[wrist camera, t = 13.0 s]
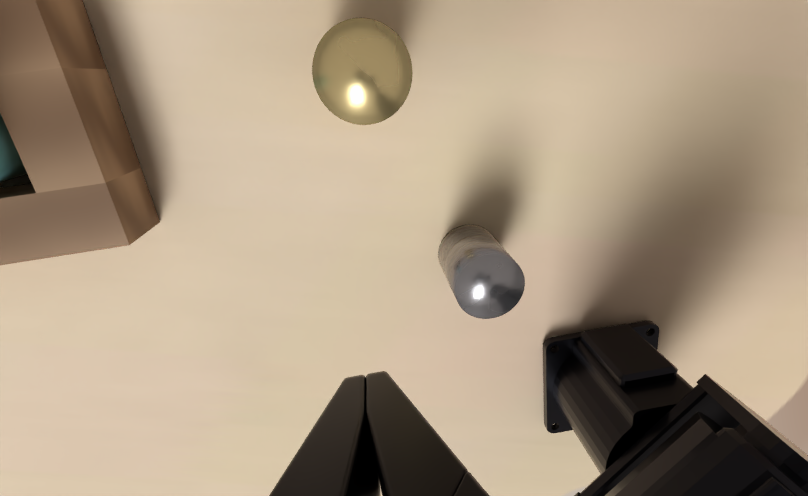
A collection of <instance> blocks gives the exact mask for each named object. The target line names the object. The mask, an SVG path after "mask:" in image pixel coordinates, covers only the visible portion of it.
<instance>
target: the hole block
mask: <svg viewBox="0 0 808 496" xmlns="http://www.w3.org/2000/svg"><path fill="white" fill-rule="evenodd" d="M0 113H1V116H2V118H3V120H4V122H5V125H6V127H7V129H8V131H9V134H10V136H11V138H12V140H13V142H14V145H15V147H16V149H17V151H18V154H19V156H20V158H21V160H22V163H23V165H24V167H25V169H26V172H27V174H28V176H29V178H30V180H31V183H32V184H26V185H20V186H13V187H6V188H0V265H5V264H11V263H17V262H24V261H30V260H37V259H43V258H49V257H56V256H62V255H69V254H75V253H81V252H88V251H94V250H101V249H107V248H113V247H120V246H126V245H130V244H131V243H133V242H134V241H135V240H137V239H138V238H139V237H141V236H142V235H143V234H145V233H146V232H147V231H149V230H150V229H151V228H153V227H154V226H155V225H157V224H158V223H159V222H160V221H159V218H158V215H157V212H156V209H155V206H154V204H153V201H152V198H151V195H150V192H149V189H148V186H147V184H146V181H145V178H144V175H143V172H142V169H141V166H140V164H139V161H138V158H137V155H136V152H135V149H134V146H133V144H132V141H131V138H130V135H129V132H128V129H127V127H126V124H125V121H124V118H123V115H122V112H121V109H120V107H119V104H118V101H117V98H116V95H115V92H114V89H113V87H112V84H111V81H110V78H109V75H108V72H107V69H106V67H105V64H104V61H103V58H102V55H101V52H100V49H99V47H98V44H97V41H96V38H95V35H94V32H93V29H92V27H91V24H90V21H89V18H88V15H87V12H86V9H85V7H84V4H83V1H82V0H0Z"/></svg>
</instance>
